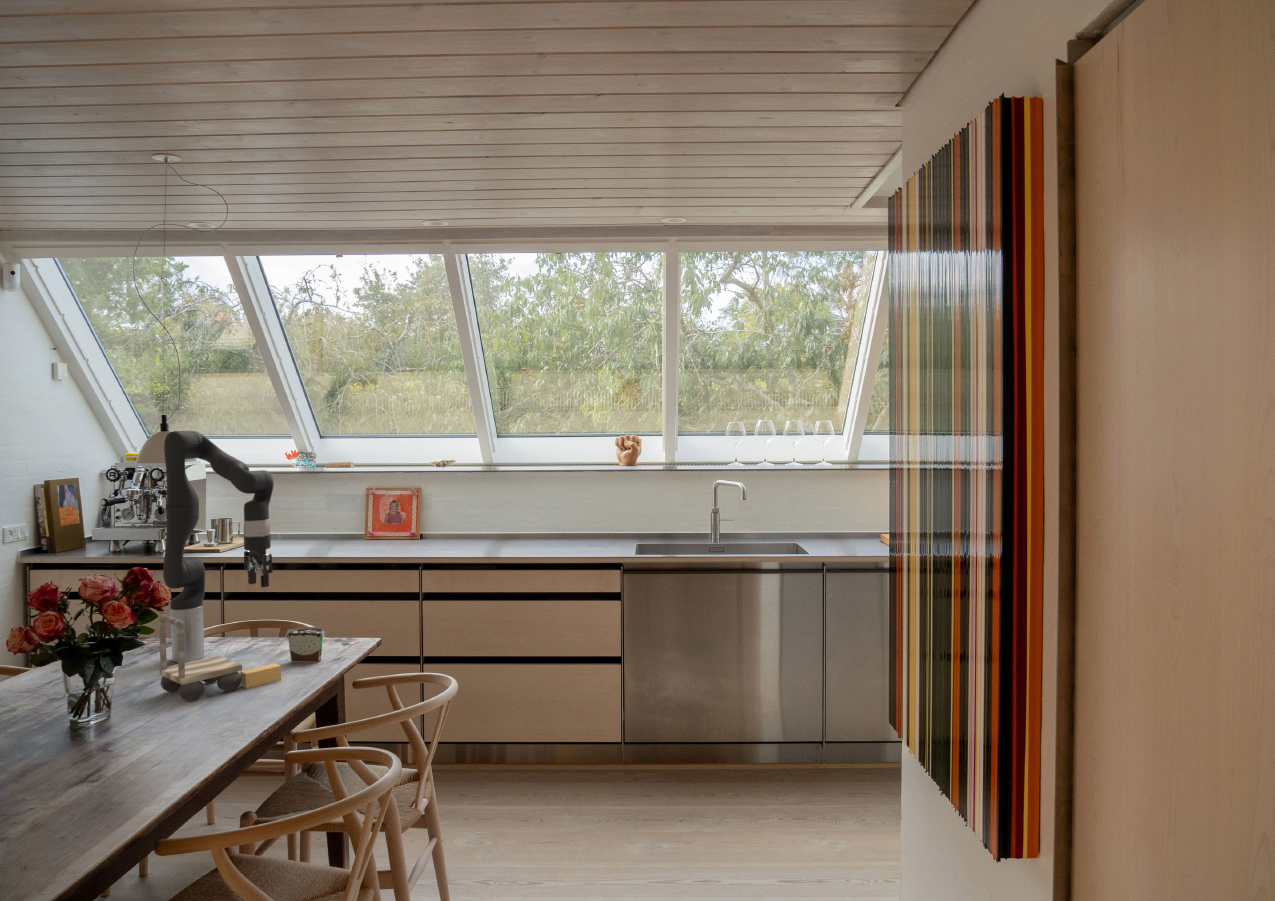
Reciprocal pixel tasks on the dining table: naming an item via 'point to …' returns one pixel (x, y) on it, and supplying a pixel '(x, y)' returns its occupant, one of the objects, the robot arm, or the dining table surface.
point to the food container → (305, 644)
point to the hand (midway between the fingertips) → (258, 585)
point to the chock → (260, 675)
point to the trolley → (194, 668)
